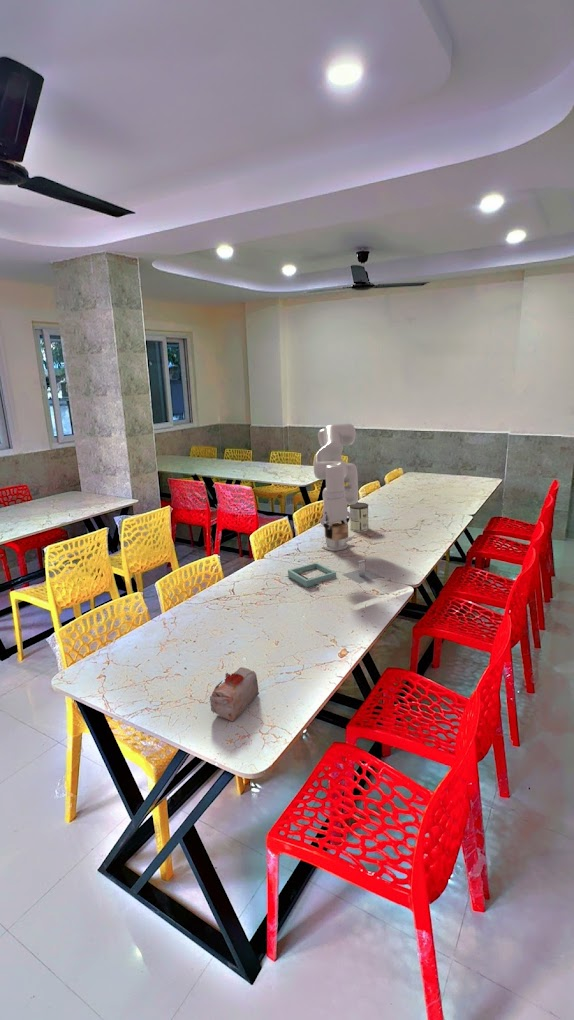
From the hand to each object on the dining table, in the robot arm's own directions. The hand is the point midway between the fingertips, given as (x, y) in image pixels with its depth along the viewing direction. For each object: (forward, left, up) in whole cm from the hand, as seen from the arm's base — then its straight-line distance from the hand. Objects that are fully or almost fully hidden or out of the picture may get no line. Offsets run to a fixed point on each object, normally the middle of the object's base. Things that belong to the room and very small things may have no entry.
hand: (336, 535), depth 213 cm
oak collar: (0, 0, -1) cm, 1 cm away
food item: (+73, +54, -20) cm, 94 cm away
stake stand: (-8, +6, -20) cm, 22 cm away
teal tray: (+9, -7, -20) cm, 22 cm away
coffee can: (-51, -50, -20) cm, 74 cm away
